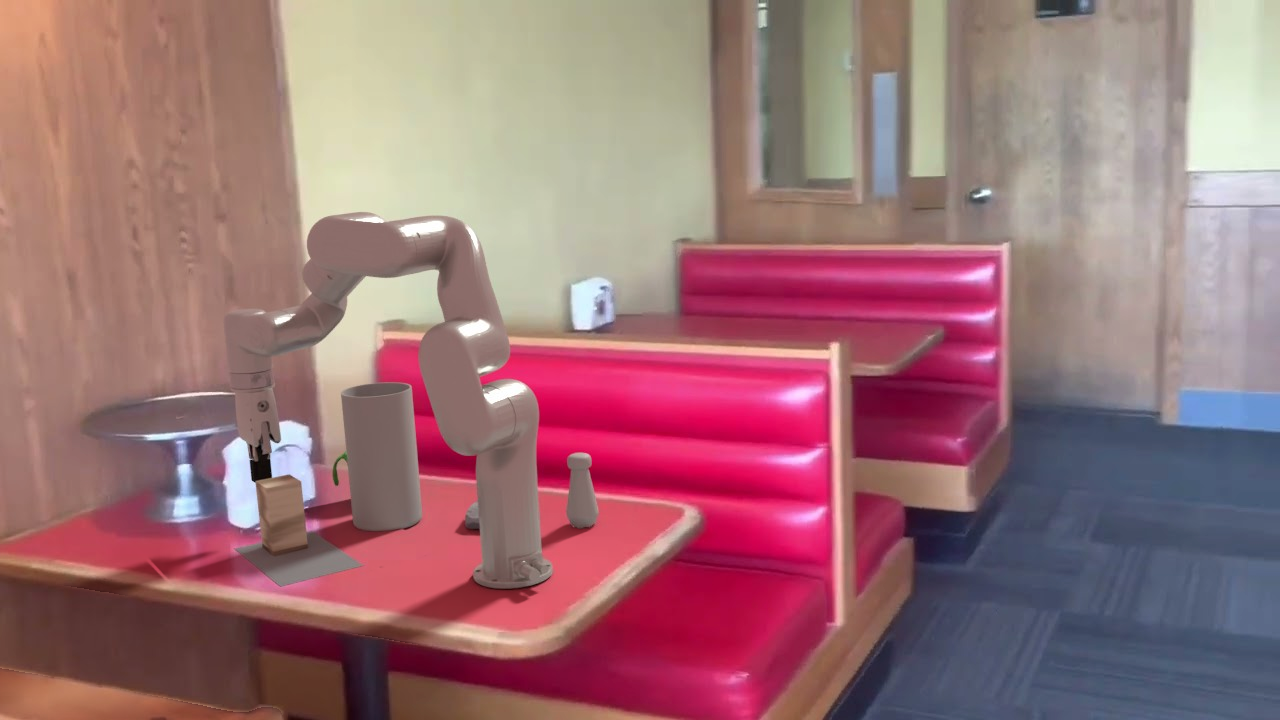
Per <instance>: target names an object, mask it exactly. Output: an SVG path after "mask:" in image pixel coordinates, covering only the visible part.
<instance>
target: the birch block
mask: <svg viewBox="0 0 1280 720" xmlns="http://www.w3.org/2000/svg"><path fill="white" fill-rule="evenodd" d="M254 483H255V491H256V498H257V499H256V500H257V510H258V511H257V512H258V517H259V518H258V519H259V527H260V535H261V536H260V537H261V542H262V548H264V549H265V550H266V551H268V552H269V553H270V554H272V555H273V556H277V555H282V554H286V553H290V552H294V551H299V550H303V549H307V548H308V543H307V533H306V532H307V525H306V515H305V507H304V497H303V496H304V495H303V487H302V480H299V478H296V477H294V476H293V475H291V474H285V475H279V476H275V477H274V476H273V477H272V478H269V479H264V480H259V481H255V482H254Z"/></svg>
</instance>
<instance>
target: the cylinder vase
mask: <svg viewBox="0 0 1280 720" xmlns="http://www.w3.org/2000/svg"><path fill="white" fill-rule="evenodd" d="M412 388H413V387H412V385H411V384H409V383H406V382H405V383H404V382H393V381H391V382H390V381H389V382H388V381H387V382H374V383H366V384H359V385H354V386H350V387H348V388H345V389H343V390H342V391H341V392H340V396H341V397H340V398H341V406H342V408H341V409H342V410H341V411H342V420H343V430H344V431H343V432H344V439H345V448H346V449H345V451H346V452H347V462H346V464H347V463H348V465H347V472H348V483H349V493H350V506H351V514H352V523H353V525H354V527H355V528H357V529H359V530H362V531H368V532H388V531H395V530H401V529H402V530H404V529H407V528H409V527H412V526H414V525H416V524H418V523H419V522H420V521H421V520H422V517H423V508H422V496H421V487H420V486H421V484H420V483H421V482H420V473H419V471H420V470H419V469H420V468H419V460H418V446H417V437H416V436H417V435H416V424H415V422H416V421H415V411H414V409H415V408H414V401H413V400H414V399H413V389H412Z"/></svg>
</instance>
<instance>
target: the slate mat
mask: <svg viewBox="0 0 1280 720" xmlns="http://www.w3.org/2000/svg"><path fill="white" fill-rule="evenodd" d="M306 533H307V543H308V548H307V549H303V550H299V551H294V552H290V553H286V554H282V555H277V556H273V555H272V554H270V553H269V552H268V551H266V550H265V549H264V548H262V541H261V542H256V543H252V544H249V545H248V544H247V545H244V546H239V547H235V548H234V550H235V551H236V552H238V553H239V554H240V555H241V556H243V557H244V558H245V560H247V561H248V562H249V563H251V564H252V565H254V566H255V567H256V568H257V569H258V570H260V572H262V574H264V575H266V576H267V577H268V578H269V579H270V580H272V581H273V582H274V583H275V584H276V585H278V587H284V586H289V585H293V584H296V583H297V584H298V583H300V582H305V581H309V580H312V579H316V578H320V577H324V576H329V575H333V574H336V573H341V572H344V571H348V570H352V569H356V568H357V569H358V568H361V567H364V565H363V564H362V563H360V562H359V561H358V560H356V559H354V558H353V557H351V556H350V555H349V554H347V553H346V552H344V551H343V550H341V549H340V548H339V547H338V546H335V545H334V544H332V542H329V541H328V540H326V539H325V538H323V537H322V536H321V535H319V534H318V533H316V532H315V531H313V530H309V531H306Z"/></svg>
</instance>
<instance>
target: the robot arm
mask: <svg viewBox="0 0 1280 720" xmlns="http://www.w3.org/2000/svg"><path fill="white" fill-rule="evenodd" d="M306 250H307V254H308V257H309V258H310V259H309V260H307V262H306V263H305V264H304V266H303V268H302V275H301V277H302V280H303V283H304V285H305V287H306V288H307V289H308V291H309V292H310V295H309V296H307V298H306V299H305V300H304V301H303V302H302V303H301V304H299V305H295V306H291V307H287V308H282V309H277V310H276V309H275V310H273V311H265V310H264V309H260V308H240V309H234V310H231V311H229V312H226V314H225V315H224V317H223V332H224V341H225V350H226V351H225V352H226V359H227V360H226V361H227V370H228V371H227V372H228V378H229V388H230V391H231V392H233V393H234V401H235V415H236V426H237V434H238V436H239V438H240V439H241V440H242V441H244V442H245V443H246V445H247V453H248V458H249V468H250V470H249V471H250V477H251V481H252V482H253V483H255V481H259V480H264V479H269V478H273V474H272V473H273V471H272V462H271V454H272V452H273V450H272V449H273V448H272V444H271V442H273V443H274V444H280V443H281V442H282V434H281V427H280V420H279V419H280V418H279V414H278V407H277V401H276V397H275V393H274V388H275V386H276V381H275V372H274V360H273V357H274V358H275V357H278V356H281V355H286V354H289V353H293V352H296V351H301V350H305V349H309V348H312V347H314V346H316V345H318V344H319V343H321V342H322V341H323V340H324V339H325V338H327V337H328V336H329V334H330V333H331V332H332V331H333V330H335V328H336V327H337V326H338V325H339V324H340V322H342V320H343V319H344V317H345V314H346V310H347V307H348V297H349V295H350V294H352V292H353V291H354V290H355V289H356V288H357V287H358V285H360V283H361V282H362V281H363V280H364V279H365V278H366V277H368V278H369V277H371V278H378V279H381V278H382V279H391V278H393V279H394V278H399V277H403V276H409V275H414V274H419V273H423V272H427V271H433V270H435V271H438V276H437V287H436V291H437V298H438V299H437V300H438V302H439V306H440V309H441V312H442V316H443V320H444V321H443V322H441V323H438V324H435V325H433V326H432V327H430V328H429V329H428V330H427V331H426V332H425V333H424V335H423V337H421V341H420V343H419V347H418V365H419V370H420V374H421V377H422V380H423V383H424V386H425V390H426V393H427V397H428V400H429V402H430V406H431V408H432V412H433V415H434V418H435V421H436V424H437V427H438V430H439V432H440V435H441V437H442V438H443V440H444V442H445V443H446V444H447V446H448V447H449V448H450V449H451V450H452V451H454V452H456V453H457V454H458V455H459V454H460V455H462V456H467V457H468V456H471V457H472V456H476V460H475V461H476V462H475V463H476V464H475V479H476V495H477V500H478V511H479V525H480V529H479V535H480V551H481V552H480V553H481V563H480V564H478V565H477V566H476V567H475V568H474V569H473V571H472V574H473V580H474V582H476V583H477V584H479V585H481V586H483V587H486V588H491V589H500V590H501V589H502V590H507V589H508V590H509V589H511V590H512V589H520V588H525V587H530V586H534V585H536V584H541V583H542V582H544V581H546V580H547V579H549V578H550V577H551V576H552V574H553V573H554V571H553V570H554V567H553V563H552V562H551V561H550V560H549V559H547V558H545V557H543V551H542V550H543V548H542V533H541V519H540V504H539V503H540V501H539V500H540V499H539V489H538V469H537V468H538V467H537V464H538V463H537V442H538V441H537V439H538V430H539V423H540V409H539V403H538V399H537V396H536V395H535V393H534V391H533V390H532V389H531V388H530V387H529V386H528V385H527V384H526V383H524V382H522V381H520V380H517V379H514V378H513V379H512V378H503V379H497V380H494V381H491V382H488V383H485V384H482V381H481V377H483V376H487V375H489V374H492V373H493V372H496V371H498V370H500V369H501V368H502V367H504V366H505V365H506V364H507V362H508V360H510V357H511V345H510V340H509V335H508V333H507V330H506V326H505V323H504V320H503V317H502V314H501V310H500V308H499V304H498V300H497V297H496V294H495V292H494V288H493V286H492V282H491V279H490V276H489V272H488V266H487V262H486V258H485V254H484V253H485V252H484V250H483V245H482V244H481V241H480V238H479V237H478V235H477V233H476V232H475V231H474V230H473V229H472V228H471V226H469V225H468V224H467V223H466V222H464V221H463V220H460V219H459V218H455V217H452V216H447V215H446V216H445V215H425V216H424V215H423V216H415V217H409V218H405V219H396V220H390V221H387V220H385V219H384V218H383V217H381V216H380V215H378V214H375V213H372V212H368V211H358V212H347V213H343V214H342V213H341V214H333V215H329V216H328V215H327V216H324V217H322V218H320V219H319V220H317V221H316V222H315V223H314V225H312V227H311V228H310V230H309V232H308V235H307V238H306Z"/></svg>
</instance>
